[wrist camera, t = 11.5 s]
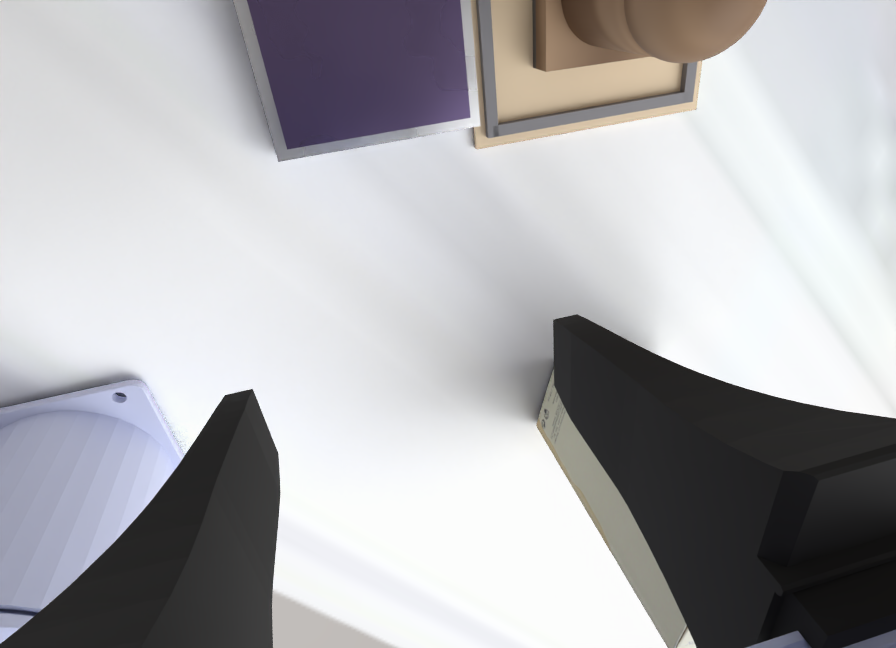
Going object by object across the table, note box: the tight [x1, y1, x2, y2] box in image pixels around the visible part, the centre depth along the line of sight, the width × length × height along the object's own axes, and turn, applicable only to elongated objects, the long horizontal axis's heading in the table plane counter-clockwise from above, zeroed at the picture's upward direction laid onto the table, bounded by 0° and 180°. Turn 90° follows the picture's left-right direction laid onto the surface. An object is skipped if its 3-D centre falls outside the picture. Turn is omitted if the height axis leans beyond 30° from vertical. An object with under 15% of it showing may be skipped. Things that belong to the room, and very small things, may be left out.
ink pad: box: [233, 0, 480, 162], centre depth 17 cm, size 7×7×1 cm
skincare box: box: [537, 369, 696, 648], centre depth 23 cm, size 6×4×12 cm
